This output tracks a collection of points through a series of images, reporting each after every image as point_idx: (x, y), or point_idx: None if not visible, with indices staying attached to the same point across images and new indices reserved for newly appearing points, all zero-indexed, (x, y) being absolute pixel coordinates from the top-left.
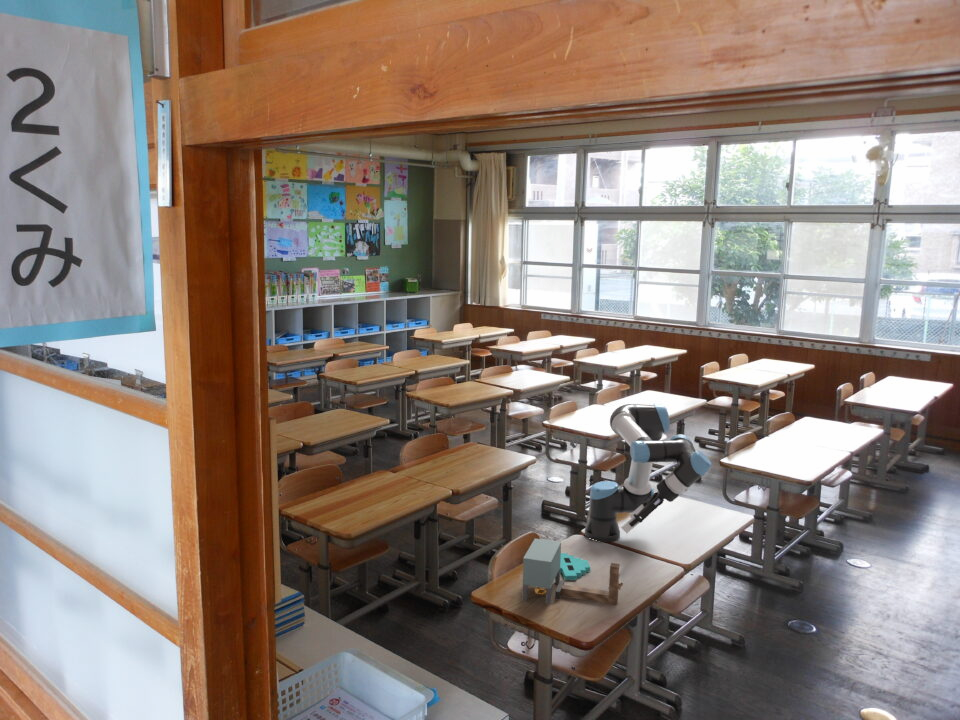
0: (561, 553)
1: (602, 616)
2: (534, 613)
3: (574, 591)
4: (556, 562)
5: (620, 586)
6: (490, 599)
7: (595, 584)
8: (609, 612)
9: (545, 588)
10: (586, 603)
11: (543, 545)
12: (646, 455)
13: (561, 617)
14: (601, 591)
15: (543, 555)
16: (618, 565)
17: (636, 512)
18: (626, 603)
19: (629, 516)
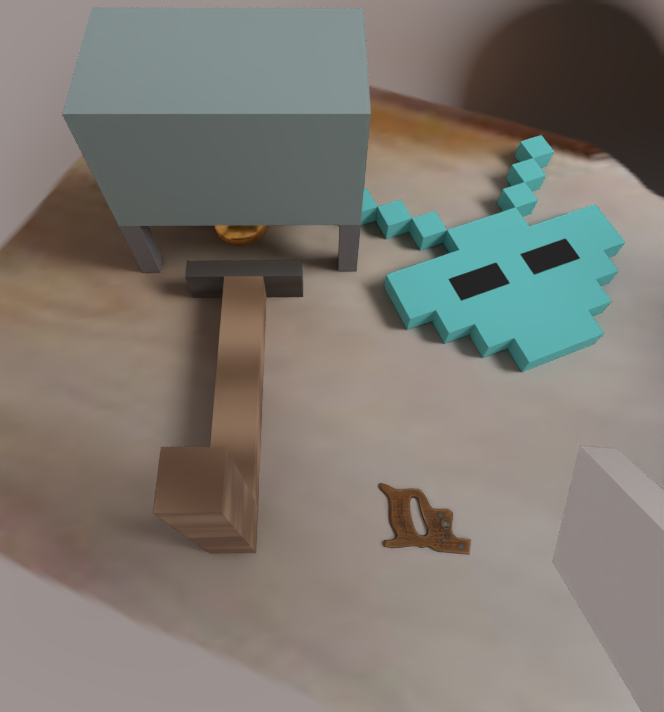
0: (606, 222)
1: (73, 498)
2: (60, 236)
3: (220, 333)
4: (245, 172)
5: (419, 543)
6: None
7: (396, 416)
8: (119, 526)
9: (253, 229)
10: (188, 407)
11: (284, 52)
12: None
13: (39, 331)
14: (242, 454)
15: (145, 71)
16: (188, 507)
17: (651, 586)
18: (238, 604)
19: (578, 461)
